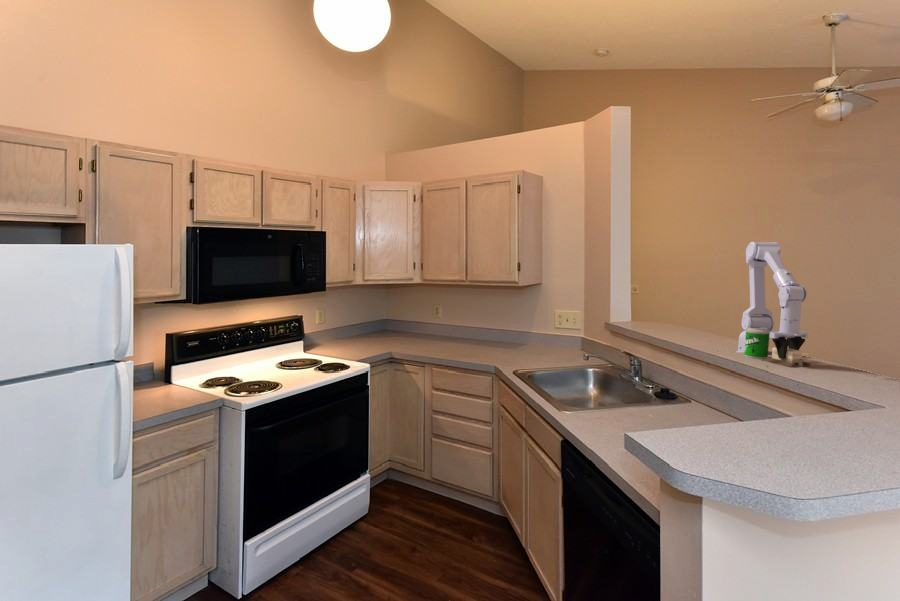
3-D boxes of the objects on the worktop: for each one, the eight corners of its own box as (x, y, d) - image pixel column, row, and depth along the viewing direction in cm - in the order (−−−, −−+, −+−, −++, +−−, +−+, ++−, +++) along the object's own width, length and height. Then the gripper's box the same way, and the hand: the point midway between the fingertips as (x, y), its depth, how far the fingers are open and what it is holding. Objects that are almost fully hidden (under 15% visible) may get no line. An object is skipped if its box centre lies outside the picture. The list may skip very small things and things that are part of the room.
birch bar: (801, 362, 171) (802, 351, 171) (791, 362, 170) (792, 351, 170) (780, 357, 179) (781, 347, 178) (771, 358, 178) (772, 347, 177)
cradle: (760, 362, 179) (761, 353, 178) (804, 361, 184) (805, 351, 183) (790, 370, 167) (791, 360, 167) (836, 368, 172) (837, 358, 172)
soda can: (760, 358, 188) (763, 326, 187) (771, 362, 180) (774, 329, 179) (740, 357, 188) (742, 326, 187) (750, 361, 181) (752, 329, 180)
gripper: (783, 321, 167) (780, 361, 168) (817, 321, 171) (814, 359, 172) (765, 318, 174) (762, 356, 175) (798, 318, 177) (795, 355, 179)
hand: (787, 358), depth 174 cm, fingers closed on birch bar, 4 cm apart
